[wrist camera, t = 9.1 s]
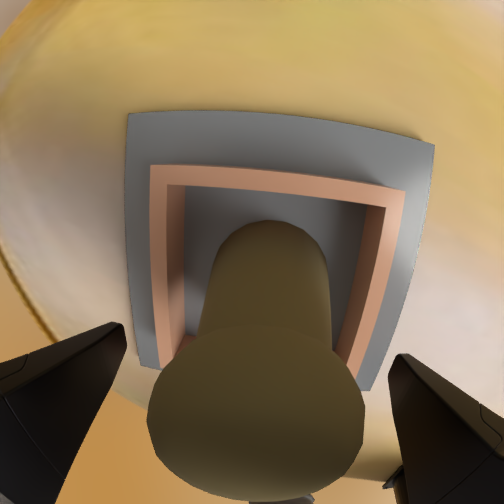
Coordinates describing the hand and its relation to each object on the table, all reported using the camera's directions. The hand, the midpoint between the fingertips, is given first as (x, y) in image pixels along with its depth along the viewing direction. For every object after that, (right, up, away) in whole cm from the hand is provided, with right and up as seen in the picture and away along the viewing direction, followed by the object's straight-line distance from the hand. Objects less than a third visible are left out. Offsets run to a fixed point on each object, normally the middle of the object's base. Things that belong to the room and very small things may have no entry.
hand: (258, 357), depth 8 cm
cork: (+1, +2, +7) cm, 7 cm away
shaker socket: (+1, +2, +7) cm, 8 cm away
